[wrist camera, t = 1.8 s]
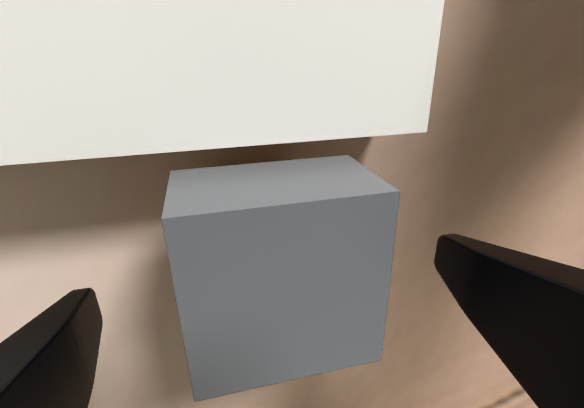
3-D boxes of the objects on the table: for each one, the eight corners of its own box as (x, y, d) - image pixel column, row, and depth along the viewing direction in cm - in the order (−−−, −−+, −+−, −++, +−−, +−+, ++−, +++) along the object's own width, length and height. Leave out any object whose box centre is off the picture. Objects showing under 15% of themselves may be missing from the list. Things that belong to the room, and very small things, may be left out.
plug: (317, 132, 13) (400, 191, 8) (315, 250, 15) (381, 359, 10) (175, 143, 12) (161, 218, 7) (194, 268, 14) (194, 401, 9)
